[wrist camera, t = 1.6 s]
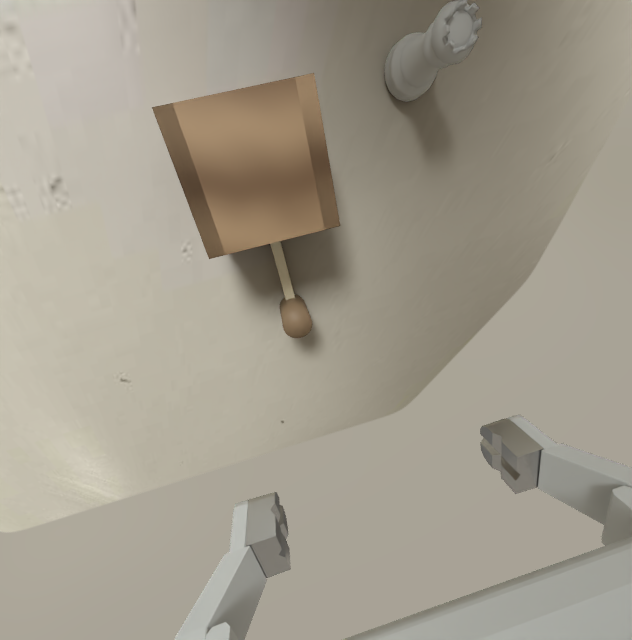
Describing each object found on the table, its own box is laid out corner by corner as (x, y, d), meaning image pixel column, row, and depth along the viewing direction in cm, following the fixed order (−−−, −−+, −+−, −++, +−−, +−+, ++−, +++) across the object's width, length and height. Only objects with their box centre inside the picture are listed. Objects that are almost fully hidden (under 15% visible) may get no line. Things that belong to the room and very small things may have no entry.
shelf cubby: (184, 132, 25) (151, 107, 17) (297, 107, 25) (313, 73, 18) (222, 241, 29) (209, 258, 21) (319, 217, 29) (340, 225, 22)
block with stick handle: (224, 161, 26) (216, 155, 22) (278, 149, 26) (282, 140, 22) (274, 323, 33) (276, 344, 28) (316, 311, 33) (325, 330, 29)
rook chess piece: (426, 104, 27) (487, 72, 20) (380, 102, 26) (426, 68, 19) (433, 41, 25) (503, -20, 18) (384, 37, 24) (436, -27, 17)
